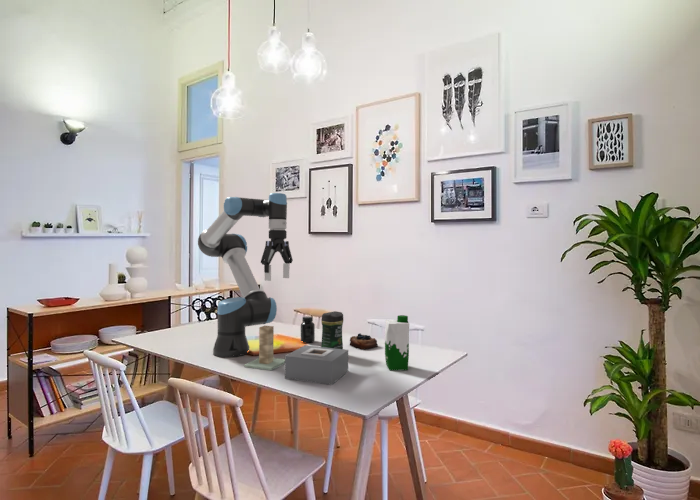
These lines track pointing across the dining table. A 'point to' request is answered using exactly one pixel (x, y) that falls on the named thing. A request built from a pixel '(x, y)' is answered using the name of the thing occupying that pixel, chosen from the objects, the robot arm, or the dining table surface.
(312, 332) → the supplement bottle
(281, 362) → the mat
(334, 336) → the coffee jar
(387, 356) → the milk carton
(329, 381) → the grey socket block
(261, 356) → the peg
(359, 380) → the dining table surface
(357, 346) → the pastry
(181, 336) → the dining table surface
